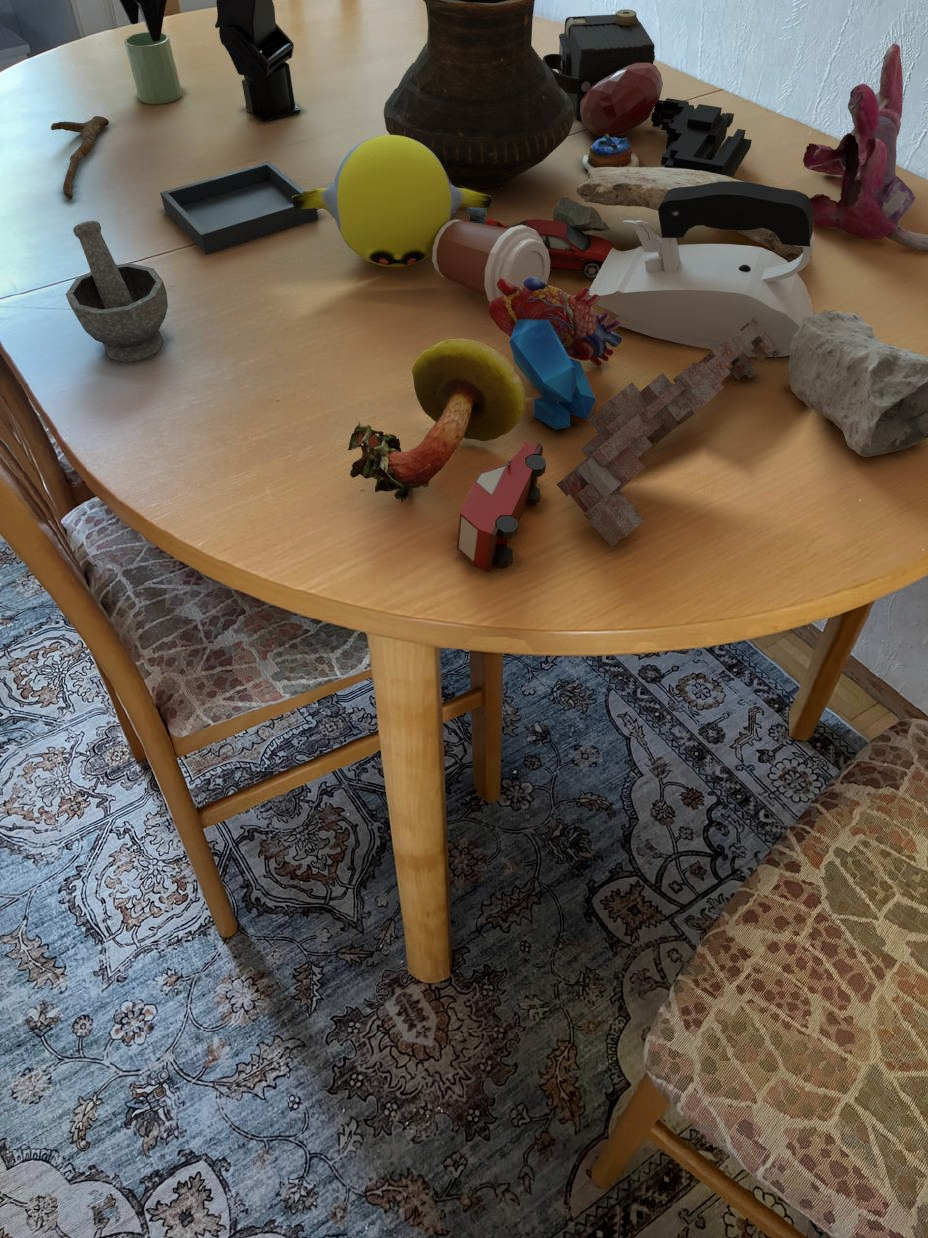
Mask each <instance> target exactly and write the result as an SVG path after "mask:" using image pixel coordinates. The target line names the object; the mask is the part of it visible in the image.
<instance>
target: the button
mask: <svg viewBox="0 0 928 1238" xmlns="http://www.w3.org/2000/svg"><path fill="white" fill-rule="evenodd" d="M466 213H467V215H468V217H469V218H466V219H460V220H461V221H467V222H473V223H478V224H484V225H490V226H493V224H494V223H495V222H500V223H501V224H503V226H506V224H504V223H503V222H502V221H500V220H497V219H489V218H487V215H488V209H487V208H470V207H466ZM496 226H498V225H496Z"/></svg>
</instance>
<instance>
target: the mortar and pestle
mask: <svg viewBox="0 0 928 1238" xmlns="http://www.w3.org/2000/svg"><path fill="white" fill-rule="evenodd" d="M72 231H73V234H74V236H75V237H76V238H77V239H78V240H79V242H80V245H81V248H82V250H83V253H84V255H85V259H86V262H87V265H88V268H89V270H90V271H89V272H87V273H85V274H83V275H80V276H79V277H76V278H75V279H74V281H73V282H72V284H71V286H70V287H69V288H68V290H67V291H66V293H65V297H66V299H67V302H68V304H69V306H70V307H69V308H70V309H71V310H72V312H73V313H74V315H75V317H76V319H77V320H78V322H79V324H80V325H81V327H82V328H83V330H84V331H85V333H86V334H88V335H89V336H90V337H91V338H92V339H93V340H95V341H97V342H98V343H101V344H103V348H104V351H105V352H106V354H107V355H108V357H109V359H112V360H116V361H119V362H123V363H129V362H136V361H142V360H145V359H148V358H150V357H151V356H152V355H154V354H157V353H158V352H159V351H160V349H161V347H162V345H163V344H164V338H163V336H162V334H161V332H160V329H161V326H162V325H163V323H164V321H165V319H166V316H167V311H168V308H169V300H168V294H167V293H168V292H167V289H166V286H165V282H164V280H163V278H161V276H160V275H159V274H158V272H157V271H156V269H155V268H154V267H149V266H145V265H140V264H137V263H131V262H125V263H119V264H117V263H116V261H115V260H114V258H113V255H112V253H111V251H110V249H109V247H108V245H107V243H106V240H105V238H104V237H103V235H102V226H101V223H100V222H99V221H98V220H86V221H82V222H80V223H78V224H76V225H75V226H74V227H73V229H72Z"/></svg>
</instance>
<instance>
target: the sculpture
mask: <svg viewBox="0 0 928 1238" xmlns="http://www.w3.org/2000/svg"><path fill="white" fill-rule="evenodd" d="M740 330H741V332H740V333H739V334H738V335H736V336H735V337H734V338H733V339H732V338H731V336H729V337H727V338H726V339H725V340H724V341H723V342H721V343H720V344H719V345H718V346H717V347H715V348H714V349H713V350H711V351H709V352H708V353H707V354H705V356H704V357H703V358H701V359H700V360H699V361H698V362H697V363H696V362H695V361H693V362H691V364H690V365H688V366H687V367H686V368H685V369H684V370H683V371H681V372H680V373H679V374H678V375H676V376H675V377H674V378H673V379H672V381H673V382H674V384H673V383H672V382H671V381H670V379H669V378H668V377H667V376H666V375H665V374H664V372H662V373H660V374H659V375H658V376H656V378H654V379H653V380H652V381H650V382H649V383H648V384H647V385H646V386H644V388H642V389H641V390H640V389H639V387H637V386H636V384H635V383H634V382H633V381H631V382H630V383H628V384H627V385H626V386H624V387H623V388H622V389H621V390H620V391H619V392H617V393H615V395H613V396H612V397H611V398H610V399H609V400H607V401H606V402H605V404H604V405H602V406H601V407H600V408H599V409H598V410H597V411H596V412H595V413H594V414H593V415H592V416H591V417H589V418H588V419H587V421H588V423H589V424H590V425H591V426H592V427H593V429H594V430H595V431H596V432H597V434H596V435H595V436H594V437H593V438H591V439H590V440H589V441H588V442H587V443H586V444H585V445H583V447H581V448H580V451H582V453H583V454H584V455H585V456H586V457H587V458H585V459H584V460H583V461H582V462H581V463H580V464H578V465H577V466H576V467H575V468H574V469H572V470H571V471H570V472H569V473H567V474H566V475H565V476H564V477H563V478H562V479H560V481H558V482H556V486H557V487H558V488H559V489H560V491H561V493H563V495H565V497H568V496H570V498H571V499H572V500H573V501H574V502H575V504H576V505H577V506H578V507H579V508H580V510H581V511H582V512H583V515H584V516H585V518H586V519H587V520H588V521H589V522H590V524H591V525H592V526H593V527H594V528H595V529H596V531H597V532H598V533H599V534H600V536H601V537H602V538H603V539H604V540H605V542H606V543H607V544H608V545H609V546H610V548H612V547H614V546H615V545H617V544H618V543H620V542H621V541H623V540H624V539H626V538H627V537H629V535H630V534H631V533H633V532H634V531H635V529H637V528H638V526H640V525H641V524H642V523H643V522H644V521H645V519H644V517H643V516H642V515H641V514H640V512H639V511H638V510H637V509H636V508H635V507H634V506H633V504H632V503H631V502H630V500H629V499H628V498H627V497H626V496H625V495H624V493H622V491H621V489H623V488H624V487H625V486H626V485H628V484H629V483H630V482H631V481H632V480H633V479H634V478H635V477H637V476H638V475H639V474H640V473H641V472H642V471H643V470H644V469H645V468H646V466H645V465H644V464H643V462H642V461H641V460H640V457H641V456H642V455H643V454H645V452H647V451H648V450H649V449H650V448H651V447H653V442H654V444H655V445H657V444H658V443H659V442H661V441H662V440H663V439H665V438H666V437H667V436H669V435H670V434H671V433H672V432H673V431H674V430H675V429H677V428H678V427H680V426H681V425H682V424H683V423H685V422H686V421H687V420H689V419H690V418H691V417H692V416H694V415H695V414H696V413H697V412H698V411H699V410H701V409H702V408H703V407H704V406H705V405H706V404H707V403H709V401H710V400H711V399H713V398H714V397H715V396H716V395H717V394H718V393H720V392H721V391H722V390H723V389H724V388H725V386H723V384H722V383H721V382H722V381H723V380H725V378H727V377H728V376H729V375H730V374H732V375H733V377H734V378H735V380H736V381H739V380H740V379H741V378H742V377H744V376H745V375H746V376H747V377H748V379H751V378H753V377H754V376H755V375H756V374H757V373H756V372H755V370H754V369H753V368H754V367H755V364H754V363H753V362H752V361H751V359H750V357H747V356H746V355H745V353H744V352H743V351H742V349H744V348H745V347H746V346H747V345H748V344H749V343H750V342H751V343H752V345H753V346H754V347H755V348H754V349H753V350H752V353H753V354H754V355H755V356H756V357H755V358H756V359H757V360H758V361H759V363H762V362H763V361H764V360H765V359H766V358H769V357H768V356H769V355H770V354H772V355H773V358H774V359H777V358H778V356H779V355H780V354H781V352H780V350H779V349H778V347H777V345H776V344H775V343H774V342H773V340H772V339H771V338H770V337H769V336H768V334H767V333H766V332H765V331H764V330H763V328H762V327H761V326H760V325H759V323H758V322H757V321H756V320H755V319H754V318H753V319H752V320H751V321H750V322H748V323H747V324H746V325H745V326H744V327H743V328H741V329H740ZM729 365H731V367H730V368H728V367H727V366H729Z"/></svg>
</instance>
